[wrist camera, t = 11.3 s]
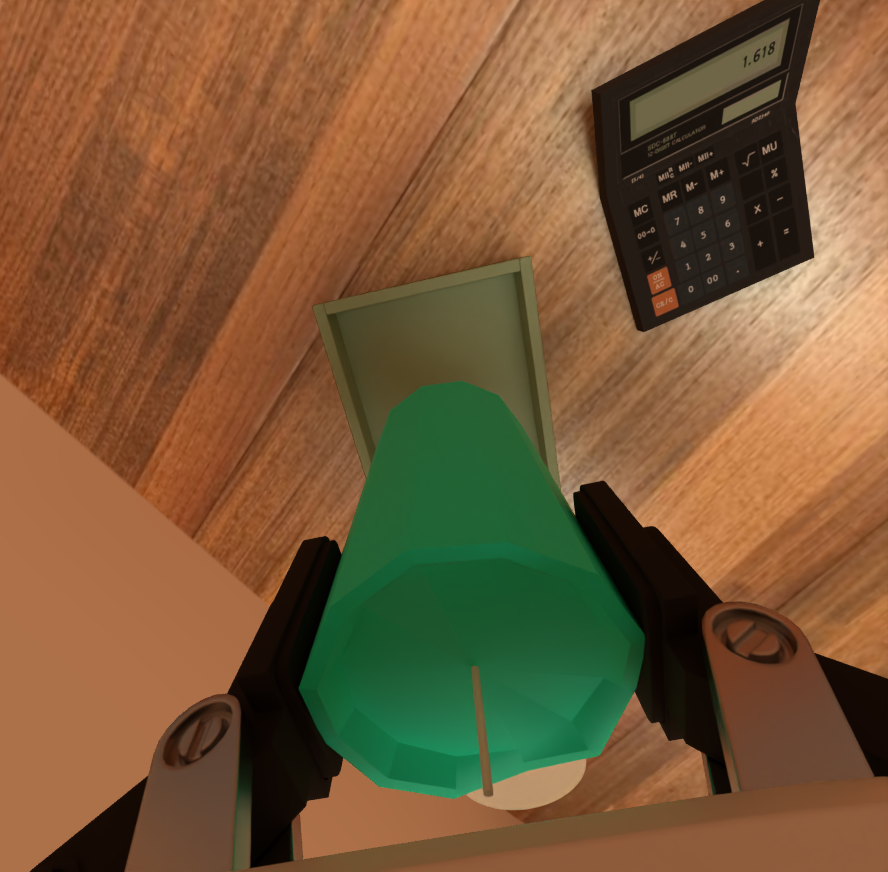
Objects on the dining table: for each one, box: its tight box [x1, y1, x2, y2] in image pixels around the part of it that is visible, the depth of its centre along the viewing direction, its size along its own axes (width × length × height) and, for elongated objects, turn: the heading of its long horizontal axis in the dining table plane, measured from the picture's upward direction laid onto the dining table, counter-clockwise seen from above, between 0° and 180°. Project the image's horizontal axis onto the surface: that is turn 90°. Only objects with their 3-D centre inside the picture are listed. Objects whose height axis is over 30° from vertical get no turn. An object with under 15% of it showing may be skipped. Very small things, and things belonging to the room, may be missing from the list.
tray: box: [312, 256, 561, 491], centre depth 27 cm, size 11×25×2 cm, turn 12°
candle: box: [299, 381, 645, 799], centre depth 11 cm, size 6×6×12 cm
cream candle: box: [466, 759, 586, 810], centre depth 25 cm, size 6×6×12 cm
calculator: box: [591, 0, 820, 332], centre depth 21 cm, size 9×12×3 cm
